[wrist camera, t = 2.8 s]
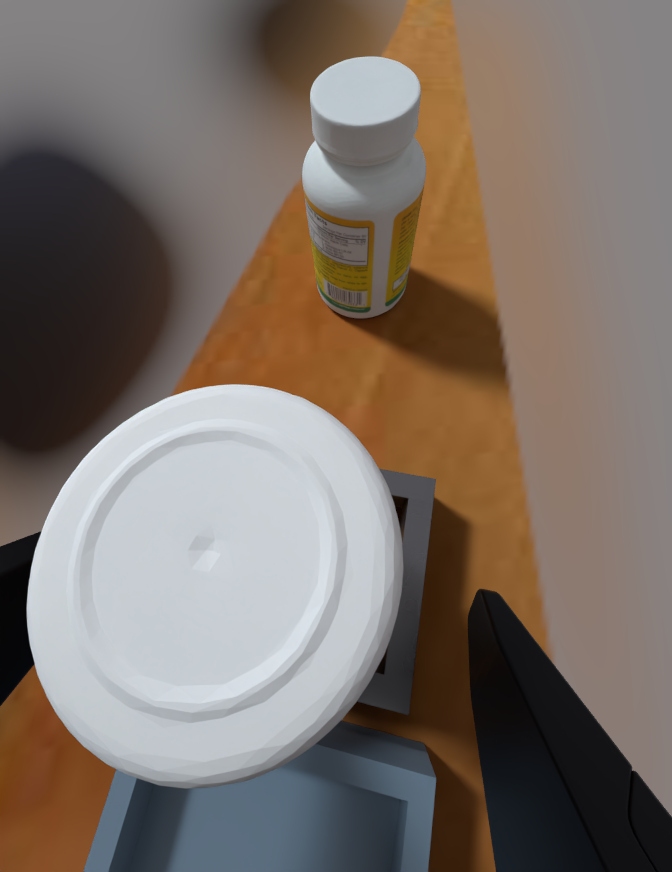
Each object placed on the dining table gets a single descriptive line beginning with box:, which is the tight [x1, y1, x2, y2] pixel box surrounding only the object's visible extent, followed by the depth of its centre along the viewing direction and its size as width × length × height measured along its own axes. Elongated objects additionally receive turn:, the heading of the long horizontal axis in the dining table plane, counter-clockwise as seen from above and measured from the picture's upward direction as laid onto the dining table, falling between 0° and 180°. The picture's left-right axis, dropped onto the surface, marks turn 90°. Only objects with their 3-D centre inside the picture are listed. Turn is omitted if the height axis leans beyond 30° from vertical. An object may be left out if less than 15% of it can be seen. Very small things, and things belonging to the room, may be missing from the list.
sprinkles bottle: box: [27, 385, 403, 789], centre depth 10 cm, size 5×5×13 cm
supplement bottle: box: [302, 57, 426, 318], centre depth 17 cm, size 5×5×10 cm
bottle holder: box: [357, 469, 436, 715], centre depth 16 cm, size 8×8×2 cm
